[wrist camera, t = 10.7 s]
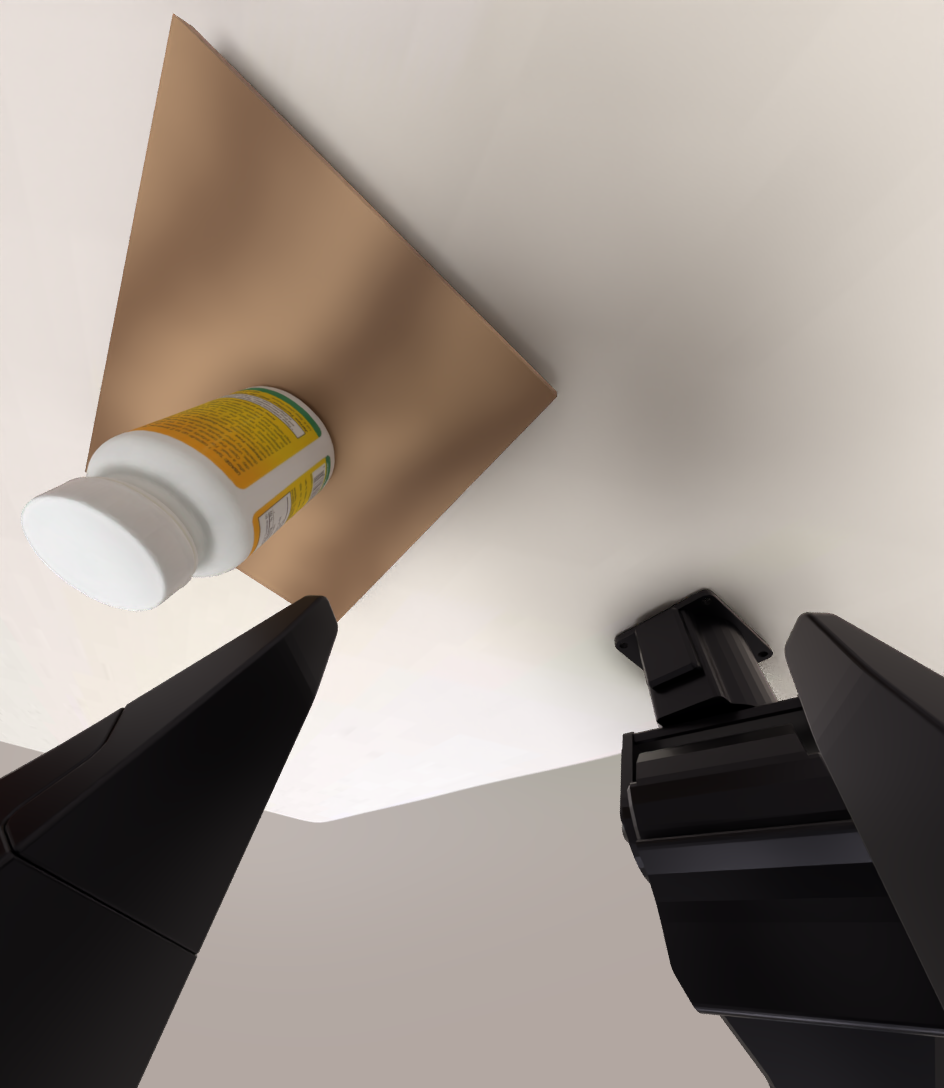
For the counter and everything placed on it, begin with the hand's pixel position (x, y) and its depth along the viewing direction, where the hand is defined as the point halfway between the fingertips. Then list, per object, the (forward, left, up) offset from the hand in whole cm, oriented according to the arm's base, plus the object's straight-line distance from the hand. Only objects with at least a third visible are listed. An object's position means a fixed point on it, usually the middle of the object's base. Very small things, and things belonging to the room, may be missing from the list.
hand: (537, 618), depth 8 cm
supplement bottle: (+9, +9, -11) cm, 16 cm away
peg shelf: (+9, +9, -13) cm, 18 cm away
